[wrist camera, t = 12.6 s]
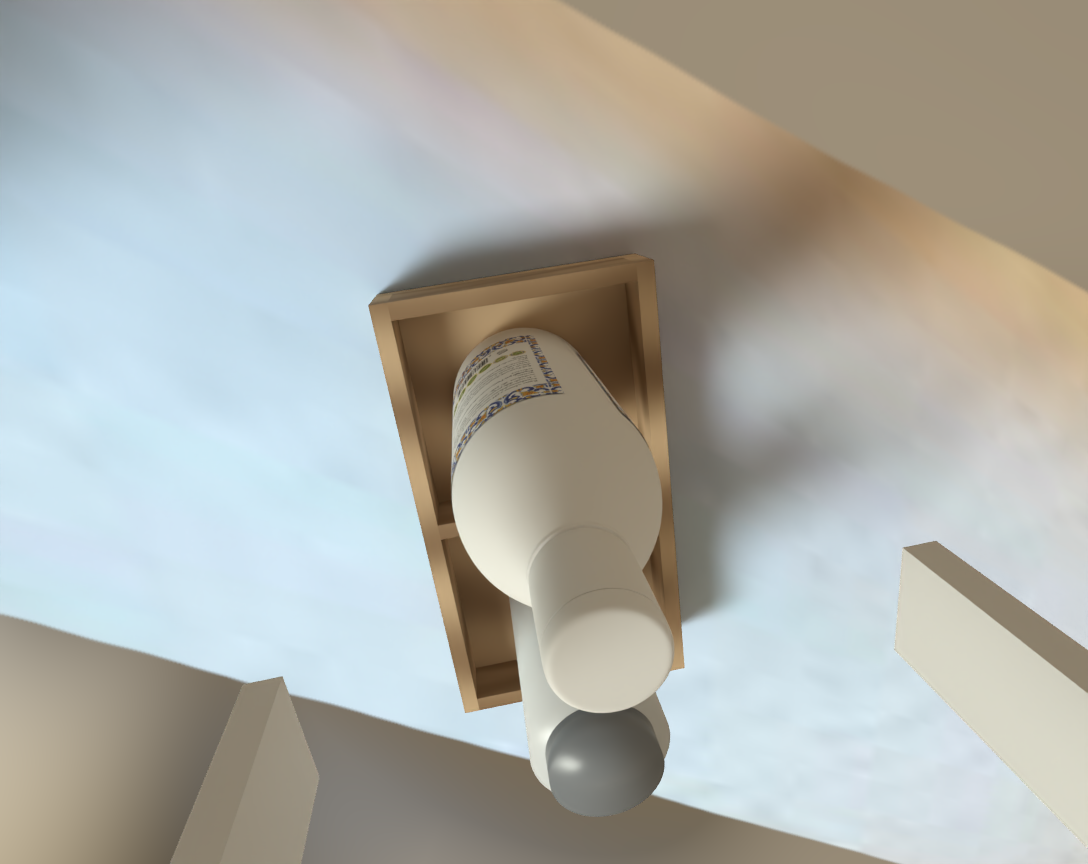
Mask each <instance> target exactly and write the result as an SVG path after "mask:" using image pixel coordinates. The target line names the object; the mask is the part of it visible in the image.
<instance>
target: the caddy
mask: <svg viewBox="0 0 1088 864" xmlns="http://www.w3.org/2000/svg"><path fill="white" fill-rule="evenodd" d="M369 311H370V315H371V319H372V323H373V327H374V332H375V336H376V340H377V344H378V348H379V353H380V357H381V361H382V365H383V369H384V374H385V378H386V382H387V386H388V390H389V395H390V399H391V403H392V407H393V411H394V416H395V420H396V424H397V428H398V432H399V437H400V441H401V445H402V449H403V453H404V458H405V462H406V466H407V470H408V474H409V479H410V483H411V487H412V491H413V495H414V500H415V504H416V508H417V512H418V516H419V521H420V525H421V529H422V533H423V537H424V542H425V546H426V550H427V554H428V558H429V563H430V567H431V571H432V575H433V579H434V584H435V588H436V592H437V596H438V600H439V605H440V609H441V613H442V617H443V621H444V626H445V630H446V634H447V638H448V642H449V647H450V651H451V655H452V659H453V663H454V668H455V672H456V676H457V680H458V684H459V689H460V693H461V697H462V701H463V705H464V710H465V713H468V712H473V711H478V710H482V709H487V708H492V707H497V706H502V705H507V704H512V703H516V702H521V701H522V693H521V685H520V678H519V670H518V662H517V655H516V647H515V640H514V632H513V624H512V617H511V609H510V601H509V596H508V595H506V594H505V593H503V592H502V591H501V590H499V589H498V588H497V587H495V586H494V585H493V584H492V583H491V582H490V581H489V580H488V579H487V578H486V577H485V576H484V575H483V574H482V573H481V572H480V570H479V569H478V568H477V567H476V565H475V564H474V562H473V561H472V559H471V558H470V556H469V554H468V553H467V551H466V549H465V547H464V545H463V543H462V540H461V538H460V535H459V532H458V529H457V526H456V523H455V518H454V515H453V510H452V504H451V463H452V417H453V394H454V385H455V381H456V377H457V374H458V372H459V369H460V367H461V365H462V363H463V362H464V360H465V359H466V357H467V356H468V355H469V353H470V352H471V351H472V350H473V349H474V348H475V347H476V346H477V345H478V344H480V343H481V342H482V341H484V340H485V339H487V338H488V337H490V336H492V335H494V334H496V333H499V332H501V331H505V330H508V329H514V328H536V329H541V330H545V331H548V332H551V333H553V334H555V335H557V336H559V337H561V338H562V339H564V340H565V341H567V342H568V343H569V344H570V345H572V346H573V347H574V348H575V349H576V350H577V352H578V353H579V354H580V355H581V356H582V358H583V359H584V360H585V361H586V362H587V364H588V365H589V366H590V367H591V369H592V370H593V371H594V373H595V374H596V375H597V377H598V378H599V379H600V380H601V382H602V383H603V384H604V386H605V387H606V388H607V390H608V391H609V392H610V393H611V395H612V396H613V397H614V399H615V400H616V401H617V403H618V404H619V405H620V406H621V408H622V409H623V410H624V412H625V413H626V414H627V416H628V417H629V418H630V419H631V421H632V422H633V423H634V425H635V426H636V427H637V429H638V430H639V431H640V433H641V434H642V436H643V437H644V439H645V440H646V442H647V444H648V446H649V449H650V451H651V454H652V456H653V458H654V461H655V464H656V467H657V470H658V474H659V479H660V484H661V491H662V518H661V525H660V530H659V534H658V537H657V541H656V544H655V546H654V549H653V551H652V553H651V555H650V557H649V560H648V561H647V563H646V565H645V567H644V568H643V570H642V572H643V574H644V576H645V578H646V580H647V582H648V584H649V586H650V588H651V590H652V592H653V594H654V596H655V598H656V600H657V602H658V604H659V606H660V608H661V610H662V612H663V614H664V616H665V618H666V620H667V622H668V625H669V627H670V629H671V632H672V636H673V640H674V660H673V664H672V668H671V670H670V671H672V670H676V669H681V668H684V655H683V642H682V629H681V615H680V602H679V589H678V575H677V562H676V548H675V535H674V522H673V508H672V495H671V482H670V468H669V455H668V442H667V428H666V415H665V401H664V388H663V375H662V361H661V348H660V335H659V321H658V308H657V294H656V281H655V268H654V260H652V259H649V258H646V257H643V256H640V255H637V254H629V255H623V256H616V257H610V258H604V259H597V260H591V261H585V262H579V263H572V264H566V265H560V266H553V267H547V268H541V269H535V270H528V271H522V272H516V273H509V274H503V275H497V276H491V277H484V278H478V279H472V280H465V281H459V282H453V283H446V284H440V285H434V286H428V287H421V288H415V289H409V290H402V291H396V292H390V293H384V294H377V295H376V297H375V298H374V299H373V300H372V302H371V303H370V304H369Z"/></svg>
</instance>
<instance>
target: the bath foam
mask: <svg viewBox="0 0 1088 864" xmlns="http://www.w3.org/2000/svg"><path fill="white" fill-rule="evenodd" d="M451 504H452V510H453V515H454V518H455V523H456V526H457V529H458V532H459V535H460V538H461V540H462V543H463V545H464V547H465V549H466V551H467V553H468V554H469V556H470V558H471V559H472V561H473V562H474V564H475V565H476V567H477V568H478V569H479V570H480V572H481V573H482V574H483V575H484V576H485V577H486V578H487V579H488V580H489V581H490V582H491V583H492V584H493V585H494V586H495V587H497V588H498V589H499V590H501V591H502V592H503V593H505V594H506V595H508V596H509V597H511V598H513V599H515V600H517V601H519V602H521V603H523V604H525V605H528V606H530V607H532V611H533V617H534V622H535V628H536V633H537V639H538V644H539V650H540V655H541V661H542V666H543V670H544V674H545V677H546V679H547V682H548V684H549V685H550V687H551V689H552V690H553V691H554V693H555V694H556V695H557V696H558V697H559V698H560V699H561V700H562V701H564V702H565V703H567V704H568V705H570V706H572V707H574V708H577V709H580V710H583V711H587V712H593V713H610V712H617V711H621V710H624V709H628V708H630V707H633V706H635V705H637V704H639V703H641V702H642V701H644V700H646V699H647V698H648V697H650V696H651V695H652V694H653V693H654V692H655V691H656V690H657V689H658V688H659V687H660V686H661V685H662V684H663V682H664V681H665V679H666V678H667V676H668V674H669V672H670V670H671V668H672V664H673V660H674V640H673V636H672V632H671V629H670V627H669V625H668V622H667V620H666V618H665V616H664V614H663V612H662V610H661V608H660V606H659V604H658V602H657V600H656V598H655V596H654V594H653V592H652V590H651V588H650V586H649V584H648V582H647V580H646V578H645V576H644V574H643V572H642V570H643V568H644V567H645V565H646V563H647V561H648V560H649V557H650V555H651V553H652V551H653V549H654V546H655V544H656V541H657V537H658V534H659V530H660V525H661V518H662V491H661V484H660V479H659V474H658V470H657V467H656V464H655V461H654V458H653V456H652V454H651V451H650V449H649V446H648V444H647V442H646V440H645V439H644V437H643V436H642V434H641V433H640V431H639V430H638V429H637V427H636V426H635V425H634V423H633V422H632V421H631V419H630V418H629V417H628V416H627V414H626V413H625V412H624V410H623V409H622V408H621V406H620V405H619V404H618V403H617V401H616V400H615V399H614V397H613V396H612V395H611V393H610V392H609V391H608V390H607V388H606V387H605V386H604V384H603V383H602V382H601V380H600V379H599V378H598V377H597V375H596V374H595V373H594V371H593V370H592V369H591V367H590V366H589V365H588V364H587V362H586V361H585V360H584V359H583V358H582V356H581V355H580V354H579V353H578V352H577V350H576V349H575V348H574V347H573V346H572V345H570V344H569V343H568V342H567V341H565V340H564V339H562V338H561V337H559V336H557V335H555V334H553V333H551V332H548V331H545V330H541V329H536V328H514V329H508V330H505V331H501V332H499V333H496V334H494V335H492V336H490V337H488V338H487V339H485V340H484V341H482V342H481V343H480V344H478V345H477V346H476V347H475V348H474V349H473V350H472V351H471V352H470V353H469V355H468V356H467V357H466V359H465V360H464V362H463V363H462V365H461V367H460V369H459V372H458V374H457V377H456V381H455V385H454V394H453V417H452V463H451Z"/></svg>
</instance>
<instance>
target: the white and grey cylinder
mask: <svg viewBox="0 0 1088 864" xmlns="http://www.w3.org/2000/svg"><path fill="white" fill-rule="evenodd" d="M509 601H510V609H511V617H512V624H513V632H514V640H515V647H516V655H517V662H518V670H519V678H520V685H521V693H522V701H523V708H524V716H525V724H526V731H527V739H528V747H529V754H530V761H531V766H532V769H533V771H534V773H535V775H536V777H537V778H538V780H539V781H540V782H541V783H542V784H543V785H544V786H545V787H546V788H548V789H549V790H550V791H552V793H553V795H554V797H555V798H556V800H557V801H558V802H559V803H560V804H561V805H562V806H563V807H565V808H566V809H568V810H570V811H572V812H574V813H577V814H581V815H585V816H596V817H597V816H598V817H599V816H609V815H614V814H618V813H621V812H624V811H627V810H629V809H631V808H633V807H635V806H637V805H638V804H640V803H641V802H643V801H644V800H645V799H646V798H648V797H649V795H651V794H652V792H653V791H654V790H655V789H656V787H657V786H658V784H659V783H660V781H661V778H662V776H663V772H664V758H665V756H666V754H667V751H668V748H669V743H670V731H669V725H668V723H667V720H666V717H665V715H664V712H663V710H662V707H661V705H660V702H659V700H658V697H657V695H656V692H654V693H653V694H652V695H651V696H650V697H648V698H647V699H646V700H644V701H642V702H641V703H639V704H637V705H635V706H633V707H630V708H628V709H624V710H621V711H617V712H610V713H593V712H587V711H583V710H580V709H577V708H574V707H572V706H570V705H568V704H567V703H565V702H564V701H562V700H561V699H560V698H559V697H558V696H557V695H556V694H555V693H554V691H553V690H552V689H551V687H550V685H549V684H548V682H547V679H546V677H545V674H544V670H543V666H542V661H541V655H540V650H539V644H538V639H537V633H536V628H535V622H534V617H533V611H532V607H530V606H528V605H525V604H523V603H521V602H519V601H517V600H515V599H513V598H511V597H509Z"/></svg>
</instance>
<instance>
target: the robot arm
mask: <svg viewBox="0 0 1088 864" xmlns="http://www.w3.org/2000/svg"><path fill="white" fill-rule="evenodd" d="M894 650H895V651H896V652H897V653H898V654H899V655H900V656H901V657H902V658H903V659H904V660H905V661H906V662H907V663H908V664H909V665H910V666H911V667H912V668H913V669H914V670H915V672H916V673H917V674H918V675H919V676H920V677H921V678H922V679H923V680H924V681H925V682H926V683H927V684H928V685H929V686H930V687H931V688H932V689H933V690H934V691H935V692H936V693H937V694H938V695H939V696H940V697H941V698H942V699H943V700H944V701H945V702H946V703H947V704H948V705H949V707H950V708H951V709H952V710H953V711H954V712H955V713H956V714H957V715H958V716H959V717H960V718H961V719H962V720H963V721H964V722H965V723H966V724H967V725H968V726H969V727H970V728H971V729H972V730H973V731H974V732H975V733H976V734H977V735H978V736H979V737H980V738H981V739H982V740H983V741H984V743H985V744H986V745H987V746H988V747H989V748H990V749H991V750H992V751H993V752H994V753H995V754H996V755H997V756H998V757H999V758H1000V759H1001V760H1002V761H1003V762H1004V763H1005V764H1006V765H1007V766H1008V767H1009V768H1010V769H1011V770H1012V771H1013V772H1014V773H1015V774H1016V775H1017V776H1018V778H1019V779H1020V780H1021V781H1022V782H1023V783H1024V784H1025V785H1026V786H1027V787H1028V788H1029V789H1030V790H1031V791H1032V792H1033V793H1034V794H1035V795H1036V796H1037V797H1038V798H1039V799H1040V800H1041V801H1042V802H1043V803H1044V804H1045V805H1046V806H1047V807H1048V808H1049V809H1050V810H1051V811H1052V812H1053V814H1054V815H1055V816H1056V817H1057V818H1058V819H1059V820H1060V821H1061V822H1062V823H1063V824H1064V825H1065V826H1066V827H1067V828H1068V829H1069V830H1070V831H1071V832H1072V833H1073V834H1074V835H1075V836H1076V837H1077V838H1078V839H1079V840H1080V841H1081V842H1082V843H1083V844H1084V845H1085V846H1086V847H1087V849H1088V650H1087V649H1085V648H1084V647H1083V646H1081V645H1080V644H1078V643H1077V642H1076V641H1074V640H1073V639H1072V638H1070V637H1069V636H1067V635H1066V634H1065V633H1063V632H1062V631H1060V630H1059V629H1058V628H1056V627H1055V626H1053V625H1052V624H1051V623H1049V622H1048V621H1047V620H1045V619H1044V618H1042V617H1041V616H1040V615H1038V614H1037V613H1035V612H1034V611H1033V610H1031V609H1030V608H1028V607H1027V606H1026V605H1024V604H1023V603H1022V602H1020V601H1019V600H1017V599H1016V598H1015V597H1013V596H1012V595H1010V594H1009V593H1008V592H1006V591H1005V590H1003V589H1002V588H1001V587H999V586H998V585H997V584H995V583H994V582H992V581H991V580H990V579H988V578H987V577H985V576H984V575H983V574H981V573H980V572H978V571H977V570H976V569H974V568H973V567H972V566H970V565H969V564H967V563H966V562H965V561H963V560H962V559H960V558H959V557H958V556H956V555H955V554H953V553H952V552H951V551H949V550H948V549H947V548H945V547H944V546H942V545H941V544H940V543H938V542H937V541H933V542H928V543H923V544H919V545H914V546H909V547H904V548H903V551H902V563H901V575H900V587H899V599H898V611H897V623H896V635H895V648H894ZM318 781H319V774H318V772H317V769H316V766H315V764H314V761H313V758H312V755H311V753H310V750H309V747H308V744H307V742H306V739H305V736H304V734H303V731H302V728H301V725H300V723H299V720H298V717H297V715H296V712H295V709H294V707H293V704H292V702H291V698H290V696H289V693H288V690H287V688H286V685H285V682H284V679H283V677H277V678H272V679H268V680H263V681H258V682H253V683H248V684H243V686H242V688H241V691H240V693H239V695H238V698H237V700H236V703H235V705H234V708H233V710H232V713H231V715H230V718H229V720H228V722H227V725H226V728H225V730H224V732H223V735H222V737H221V740H220V742H219V744H218V747H217V749H216V752H215V754H214V757H213V759H212V762H211V764H210V767H209V769H208V772H207V774H206V776H205V779H204V781H203V784H202V786H201V789H200V791H199V794H198V796H197V798H196V801H195V803H194V806H193V808H192V811H191V813H190V816H189V818H188V821H187V823H186V825H185V828H184V830H183V833H182V835H181V838H180V840H179V843H178V845H177V847H176V850H175V852H174V855H173V857H172V860H171V862H170V864H301V861H302V856H303V851H304V847H305V842H306V837H307V833H308V828H309V823H310V819H311V814H312V809H313V805H314V800H315V795H316V791H317V786H318Z"/></svg>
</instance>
